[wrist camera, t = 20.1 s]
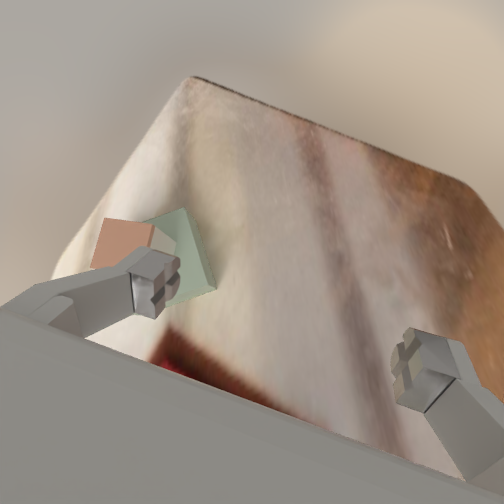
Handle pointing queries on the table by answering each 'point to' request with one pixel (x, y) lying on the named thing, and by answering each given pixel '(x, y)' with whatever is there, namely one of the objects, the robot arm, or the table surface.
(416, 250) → the table surface
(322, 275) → the table surface
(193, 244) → the green box
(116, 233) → the white brown-topped block
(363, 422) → the table surface
